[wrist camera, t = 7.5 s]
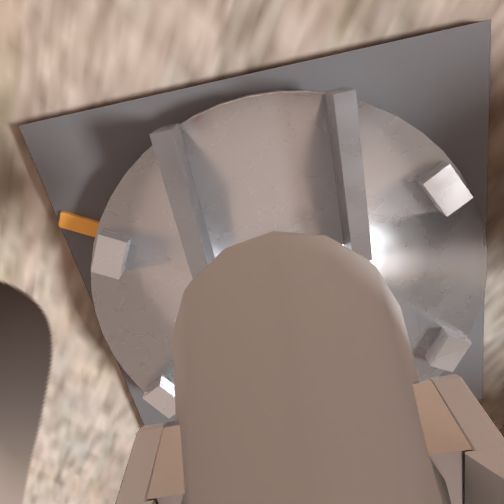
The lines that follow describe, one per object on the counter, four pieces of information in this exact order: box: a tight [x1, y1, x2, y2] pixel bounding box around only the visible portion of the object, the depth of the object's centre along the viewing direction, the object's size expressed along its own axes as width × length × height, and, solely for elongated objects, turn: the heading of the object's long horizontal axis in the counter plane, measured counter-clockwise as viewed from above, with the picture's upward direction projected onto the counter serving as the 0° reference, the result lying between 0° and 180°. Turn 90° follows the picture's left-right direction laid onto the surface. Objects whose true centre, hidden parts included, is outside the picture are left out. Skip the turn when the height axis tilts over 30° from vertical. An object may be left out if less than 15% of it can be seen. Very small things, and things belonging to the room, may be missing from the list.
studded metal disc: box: [91, 87, 488, 418], centre depth 25 cm, size 24×24×5 cm
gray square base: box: [19, 20, 491, 426], centre depth 28 cm, size 26×26×1 cm
